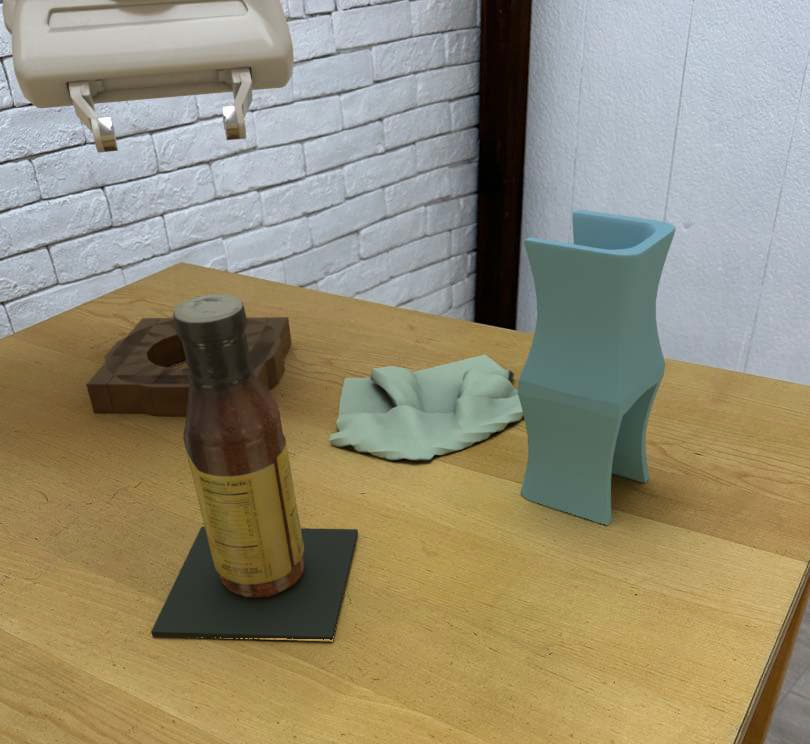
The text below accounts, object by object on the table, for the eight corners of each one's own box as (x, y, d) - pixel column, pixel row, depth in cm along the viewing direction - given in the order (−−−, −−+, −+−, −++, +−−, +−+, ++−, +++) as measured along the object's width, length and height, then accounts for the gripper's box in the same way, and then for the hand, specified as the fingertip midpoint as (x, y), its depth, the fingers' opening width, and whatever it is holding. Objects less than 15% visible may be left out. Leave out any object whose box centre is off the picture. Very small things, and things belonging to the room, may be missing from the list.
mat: (152, 637, 59) (150, 631, 59) (202, 531, 69) (201, 526, 69) (332, 642, 58) (332, 636, 58) (358, 534, 68) (357, 528, 67)
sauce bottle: (260, 539, 67) (215, 275, 55) (325, 567, 64) (292, 293, 52) (195, 586, 63) (132, 311, 51) (261, 618, 60) (210, 333, 48)
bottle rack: (85, 415, 85) (77, 386, 84) (144, 342, 99) (138, 315, 97) (262, 416, 84) (258, 387, 82) (297, 341, 97) (294, 314, 96)
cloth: (306, 459, 77) (303, 434, 76) (357, 352, 94) (356, 331, 93) (549, 470, 74) (550, 444, 72) (555, 357, 91) (557, 335, 90)
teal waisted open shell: (561, 452, 76) (577, 208, 64) (649, 478, 72) (684, 223, 61) (514, 496, 71) (522, 239, 59) (607, 526, 67) (635, 258, 55)
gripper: (-15, -49, 64) (13, 127, 62) (274, -65, 67) (308, 101, 65) (10, 17, 70) (36, 180, 68) (273, -1, 74) (305, 153, 72)
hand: (172, 141), depth 67 cm, fingers open, 8 cm apart
